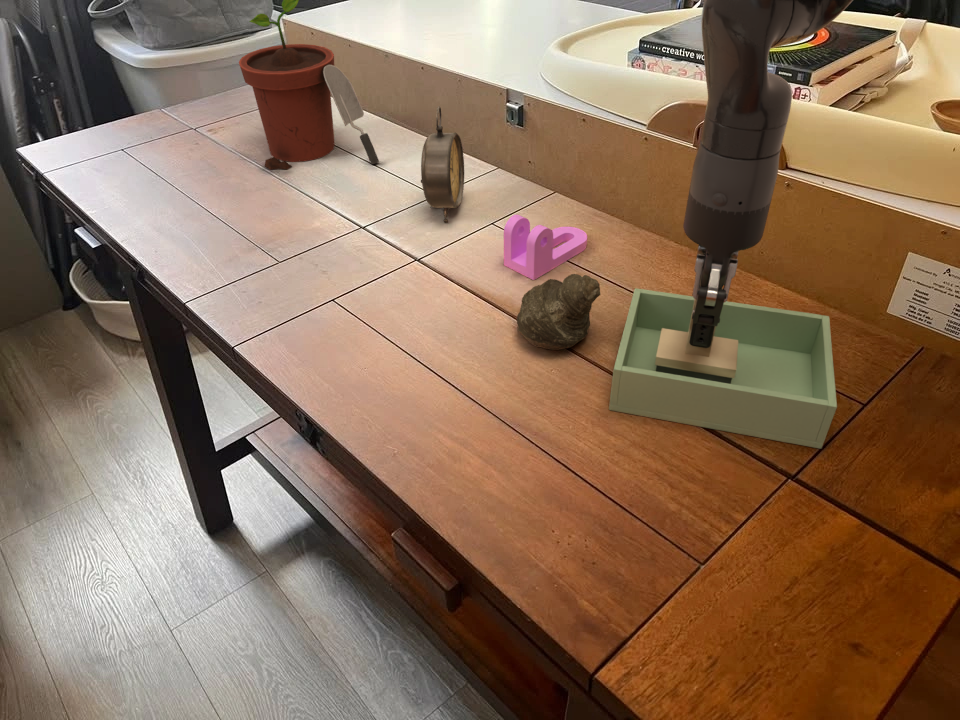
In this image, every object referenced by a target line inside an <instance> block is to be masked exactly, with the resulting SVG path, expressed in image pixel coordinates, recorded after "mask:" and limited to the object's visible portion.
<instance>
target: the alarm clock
mask: <svg viewBox="0 0 960 720" xmlns="http://www.w3.org/2000/svg"><path fill="white" fill-rule="evenodd" d="M435 120H436V121H435V124H436V128H435V130H436V132H433V133H430V134H429V135H428V136H427V137H426V139H425V140H424V142H423V146H422V151H421V158H420V176H421V179H420V183H421V187H422V191H423V195H424V198H425V200H426V202H427V204H428V205H429V206H430V207H429V208H430V209H431V208H435V209H437V208H438V209H443V218H444V219H443V223H444V224H447V223H448V222H449V221H448V217H449V209H457V208H459V207H460V205H461V203H462V201H463V195H464V189H465V188H464V187H465V157H464V149H463V143H462V139H461V137H460V135H459V133H457V132H443V126H442V109H441V105H440V106H437V108H436V116H435Z"/></svg>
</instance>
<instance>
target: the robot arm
mask: <svg viewBox="0 0 960 720" xmlns="http://www.w3.org/2000/svg"><path fill="white" fill-rule="evenodd" d="M853 1H854V0H703V5H702V9H701V10H702V11H701V20H700V22H701V24H700V26H701V27H700V28H701V29H700V30H701V41H702V50H703V51H702V52H703V60H704V61H703V62H704V75H705V81H706V91H707V101H706V102H707V103H706V106H705V113H704V117H703V124H702V129H701V135H700V141H699V145H698V149H697V151H696V155H695V157H694V161H693V166H692V172H691V176H690V177H691V178H690V182H689V183H690V184H689V189H688V195H687V200H686V207H685V214H684V218H683V226H682V227H683V232H684V234H685V235H686V237H687V238H688V239H689V240H691V241H692V242H693V243H694V244H696V245H698V246H697V252H696V259H695V263H694V273H695V277H694V283H693V289H692V295H691V296H693V298H694V299H696V304H695V310H693V313H692V319H693V325H692V330H691V335H690V341H689V343H690V345H692V346H696V347H702V348H709V347H710V346H711V341H712V337H713V332H714V328H715V326H717V325H718V323H720V315H721V311H722V307H723V304H724V303H725V302H726V301H728V298H729V293H730V289H731V284H732V280H733V279H734V278H735V276H736V274H737V269H738V263H739V259H738V256H739V252H740V251H745V250H748V249H751V248H753V247H755V246H756V245H758V244H759V243H760V242H761V240H762V239H763V236H764V232H765V228H766V224H767V220H768V217H769V216H768V215H769V212H770V208H771V204H772V200H773V195H774V191H775V187H776V183H777V179H778V174H779V167H780V157H781V150H782V147H783V142H784V137H785V134H786V130H787V125H788V121H789V117H790V112H791V108H792V101H793V100H792V99H793V91H792V87H791V84H790V83H789V82H788V81H787V80H786V79H784V78H783V77H782V76H780V75H778V74H775V73H773V72H769V71H768V63H769V62H768V61H769V56H770V55H769V54H770V51H771V50H772V49H775V48H779V47H783V46H787V45H791V44H795V43H798V42H801V41H803V40H805V39H808V38H809V37H812V36H813V35H815V34H816V33H818V32H819V31H821V30H823V29H824V28H825V27H827V26H828V25H830V24H831V23H832V22H833V21H834V20H836V19H837V17H839V16H840V15H841V14H842V13H843V12H844V11H845V10H846V9H847V8H848V7H849V5H851V3H852V2H853Z"/></svg>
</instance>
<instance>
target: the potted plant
mask: <svg viewBox="0 0 960 720" xmlns="http://www.w3.org/2000/svg"><path fill="white" fill-rule="evenodd" d="M299 1H300V0H282V2H281V9H282V10H283V11H282V12H281V13H280V14H279V15H278V17H277V19H276V21H270V17H269V16H268V15H267V14H266V13H258V14H256V16H254V17H253V18H252V19H250V20H249V21H248V22H249V23H252V24H255V25H257V26H259V27H264V28H267V27H269V26H270V25H271V24H272V25H275V26H277V29H278V33H279V37H280V38H279V39H280V41H281V45H279V44H278V45H273V46H268V47H263V48H259V49H256V50H253V51H251V52H248V53H246V54H245V55H244V56H242V57H241V58H240V59H239V60H238V64H239V68H240V71H241V74H242V77H243V80H244V83H245V84H247V85H248V86H250V87H252V92H253V95H254V98H255V101H256V105H257V108H258V113H259V116H260V121H261V124H262V127H263V131H264V135H265V138H266V142H267V145H268V149H269V152H270V155H271V156H272V157H270V158H266V159H265V162H264V167H265V168H266V169H267V170H270V171H272V170H284V171H285V170H289V169H291V168H292V165H291V164H290V163H291V162H292V163H296V162H297V163H301V162H308V161H314V160H317V159H320V158H323V157H325V156H327V155H329V154H331V152H332V151H333V150H334V149H335V144H336V143H335V133H334V132H335V131H334V121H333V107H332V100H333V102H334V104H335V106H336V108H337V111H338V113H339V116H340V117H341V120H342V122H343V124H344V126H345V127H347V126H348V125H349V124H350V127H352V128H353V129H355V130H357V131H359V132H360V134H361V135H359V140H360V141H361V144H362V146H363V148H364V151H365V153H366V156H367V158H368V160H369V163H370V165H375V164H377V163H379V161H380V160H379V158H378V157H379V156H378V155H377V153H376V150H375V148H374V145H373V142H372V140H371V138H370V136H369V134H368V132H366V133H365V131H364V130H363V128H361V127H360V126H358V125H355V124H354V122H355V121H358V120H359V119H361V118H363V117H364V115H365V111H364V109H363V107H362V105H361V103H360V100H359V97H358V95H357V93H356V90H355V88H354V86H353V83H352V82H351V80H350V79H349V78H348V77H347V76H346V74H345V73H344V72H343V71H342V70H341V69H340V68H339V67H338V66H336V65H335V54H334V52H333V51H332V50H331V49H329V48H327V47H325V46H322V45H317V44H306V43H294V44H293V43H292V44H288V43H287V44H286V41H285V37H284V34H283V31H282V27H281V18H282V17H283V16H284V15H285V14H286V13H290V12H292V11H293V10H295V8H297V5H298V3H299ZM288 162H290V163H288Z"/></svg>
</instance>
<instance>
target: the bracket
mask: <svg viewBox="0 0 960 720" xmlns="http://www.w3.org/2000/svg"><path fill="white" fill-rule="evenodd" d="M587 244H588V234H587V233H586V232H585V231H584V230H583V229H581V228H579V227H574V226H560V227H555V228H553V229H551V228H549V227H547V226H545V225H542V224H537V225H535V226H534V227H533V228H532V229H531V222H530V220H529V219H528V218H527V217H524V216H522V215H520V214H513V215H511V216H510V217H509V218H508V220H506V223H505V225H504V228H503V266H504V267H506V268H508V269H510V270H512V271H514V272H517V273H518V274H520V275H522V276H524V277H526V278H527V279H530V280H532V281H534V280H537V279H538V278H540V277H541V276H543V275H546V274H547V273H549V272H550V271H552V270H554V269H555V268H557V267H559V266H560V265H562V264H563V263H565V262H567V261H569V260H571V259H572V258H573V257H576V256H578V255H579V254H581V253H583V252H584V251H585V250H586V248H587V246H588V245H587ZM558 245H559V246H558ZM556 246H557V247H556Z"/></svg>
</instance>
